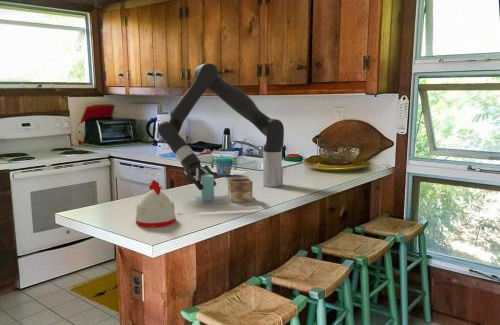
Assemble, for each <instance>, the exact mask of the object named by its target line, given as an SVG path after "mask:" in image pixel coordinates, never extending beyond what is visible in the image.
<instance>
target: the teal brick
mask: <svg viewBox="0 0 500 325" xmlns="http://www.w3.org/2000/svg"><path fill="white" fill-rule="evenodd" d="M214 176H215V175H214ZM214 176H213V175H205V174H204V175H201V177H200V183H201V184H202V185H203V187H204V188H203V189H202V190H200V193H201V194H200V195H201V196H200V197H201V198H202V201H207V200H214V196H215V187H214V180H215V177H214Z"/></svg>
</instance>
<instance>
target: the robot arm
mask: <svg viewBox="0 0 500 325" xmlns="http://www.w3.org/2000/svg"><path fill="white" fill-rule="evenodd" d="M193 73H194V74H193V75H194V78H195V80H194V82H193V83H192V84H191V86H190V87H189V89H188V90H187V91H185V93H184V94H183V95H182V96H181V97H180V98H179V99H178V101H177V103H176V104H175V105H174V107H173V108H172V110H171V111H170V114H169V115H170V119H169V121H167V120H164V121H161V122H160V123H158V125H157V132H158V134H159V136H161V138H162V139H163V141H164V142H165V143H166V144H167V145H168V147H169V148H170V149H171V151H172V152H173V154H174V155H175V157H176V159H177V161H178V162H179V164H180V165H181V166H182V168H183V169H184V171H183V172H182V173H183V175H184V177H185V178H186V180H187V182H188V184H193V185H195V186H196V188H197V189H198V190H199V191H201V190H202V189H203V188H204V187H203V185H202V184H201V180H199V178H201V175H213V176H215V173H214V172H213V171H212V170H211V167H209V165H207V164H205V165H204V166H202V165H201V159H199V157H198V156H197V154H196V153H195V152H194V151H193V149H192V148H191V147H190V146H189V145H188V143H187V142H186V141H185V140H184V138H183V137H182V136H181V135H180V134H179V133H180V131H181V129H182V127H183V124H184V122H185V120H186V119H187V118H188V116H189V114H190V113H191V111H193V108H194V107H195V106H196V104H197V103H198V101H199V100H200V99H201V97H202V96H203V95H204V93H205V92H206V91H207V90H209V91H211V92H213V94H215V95H216V96H217V97H219V99H221V100H222V101H223V102H224V103H225V104H227V105H228V106H229V107H230V108H232V110H233V111H235V112H236V113H238V114H239V115H240V116H241V117H243V118H244V119H246V120H247V121H249V122H250V123H251V124H253V125H254V127H255V128H256V129H257V130H259V132H260V133H261V134H263V135H264V136H265V137H266V138H265V139H266V142H265V144H263V149H262V152H263V154H262V155H263V160H262V161H263V162H262V163H263V166H262V168H263V171H262V174H263V176H262V177H263V178H262V179H263V181H262V182H263V186H264V187H267V188H278V187H283V186H284V167H283V165H282V164H283V163H282V162H283V152H282V151H283V147H284V140H285V138H284V137H285V128H284V124H283V122H282V121H281V120H279V119H276V118H270V117H269V116H268V115H266V114H265V113H263V112H262V111H261V110H260V109H259V108H258V107H257V105H256V104H255V102H254V100H252V98H250V97H249V96H248V95H247V94H246V93H245V92H243V91H242V90H241V89H239V88H238V87H236V86H234V85H232V84H230V83H228V82H226V81H225V80H223V79H222V78H221V77H220V76H219V70H218V68H217V66H216V65H215V64H213V63H210V62H207V63H202V64H200V65H198V66H196V68H195V69H194V72H193ZM216 185H217V182H216V181H215V179H214V188H215V186H216Z"/></svg>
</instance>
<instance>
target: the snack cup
mask: <svg viewBox="0 0 500 325" xmlns="http://www.w3.org/2000/svg"><path fill="white" fill-rule="evenodd" d="M210 162H211V163H210V169H214V167H215V168H216V174H217V176H219V177H220V176H221V177H223V176H224V177H225V176H226V177H227V176H228V177H229V176H230V175H231V173H232V167H233V166H232V165H233V164H234V171H236V170H237V168H238V164H237V161H236V159H234V157H232V156H222V155H220V156H215V157H214V158H212V159H211V161H210ZM214 162H215V163H214ZM214 164H215V166H214Z"/></svg>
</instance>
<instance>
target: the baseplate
mask: <svg viewBox="0 0 500 325" xmlns="http://www.w3.org/2000/svg"><path fill="white" fill-rule="evenodd" d="M194 199H195V201H196V204H197V206H200V205H221V204H222V205H223V204H237V203H238V204H241V203H256V200H255V199H254V198H253V201H243V202H231V201H230V199H229V198H228V195H214V200H207V201H202V198H201V196H195V198H194Z"/></svg>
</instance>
